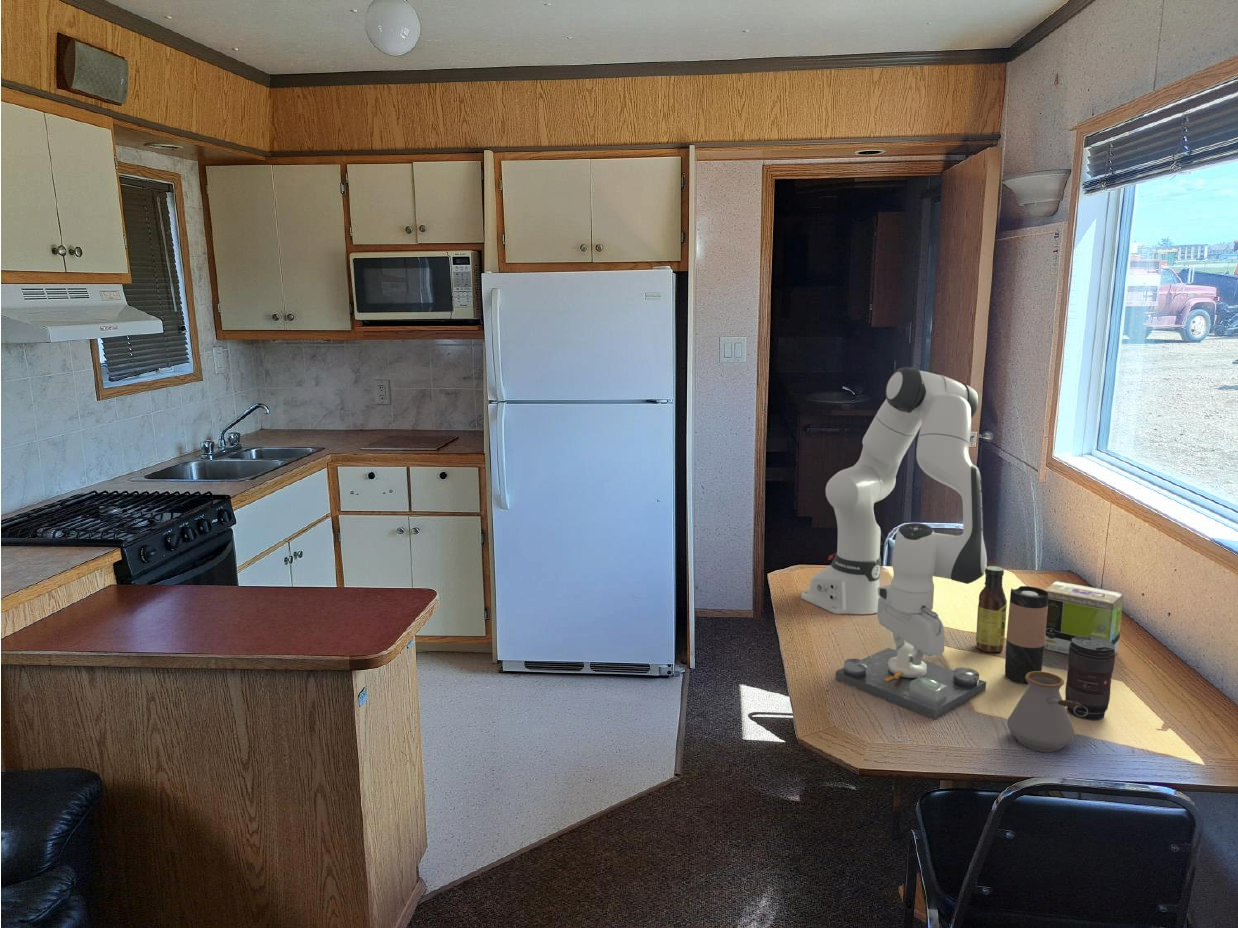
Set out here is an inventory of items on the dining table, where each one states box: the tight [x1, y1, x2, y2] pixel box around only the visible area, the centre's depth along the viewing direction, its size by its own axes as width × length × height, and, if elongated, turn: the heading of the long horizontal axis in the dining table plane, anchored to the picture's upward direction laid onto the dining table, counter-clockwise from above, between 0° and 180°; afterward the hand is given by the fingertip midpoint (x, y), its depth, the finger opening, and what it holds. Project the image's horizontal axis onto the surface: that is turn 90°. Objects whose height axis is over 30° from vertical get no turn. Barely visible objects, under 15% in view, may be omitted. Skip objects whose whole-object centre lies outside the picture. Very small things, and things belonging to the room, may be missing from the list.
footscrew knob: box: [888, 641, 927, 679], centre depth 190 cm, size 11×8×6 cm
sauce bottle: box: [975, 565, 1008, 653], centre depth 206 cm, size 6×6×20 cm
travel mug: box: [1004, 585, 1049, 686], centre depth 190 cm, size 8×8×20 cm
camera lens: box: [1064, 636, 1116, 721], centre depth 175 cm, size 8×8×15 cm
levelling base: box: [834, 647, 987, 720], centre depth 188 cm, size 24×20×6 cm
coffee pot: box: [1006, 671, 1088, 753], centre depth 159 cm, size 21×12×15 cm, turn 175°
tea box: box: [1044, 580, 1124, 655], centre depth 205 cm, size 15×10×15 cm, turn 48°
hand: (908, 658), depth 191 cm, fingers closed on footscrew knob, 4 cm apart
